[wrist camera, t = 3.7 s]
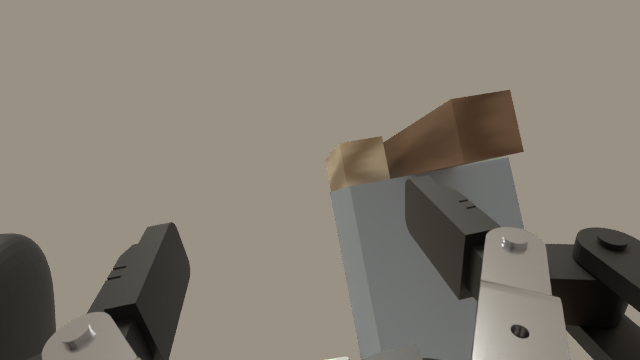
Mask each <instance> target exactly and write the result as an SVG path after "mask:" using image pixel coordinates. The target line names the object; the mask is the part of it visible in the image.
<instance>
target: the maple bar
mask: <svg viewBox="0 0 640 360" xmlns="http://www.w3.org/2000/svg"><path fill="white" fill-rule="evenodd" d="M325 162H326V167H327V173H328V178H329V183H330V189H331V192H332V191H336V190H339V189H343V188H346V187H349V186H355V185H360V184H366V183H371V182H377V181H382V180H387V179H390V175H389V170H388V165H387V160H386V155H385V150H384V145H383V140H382V136H380V137H374V138H368V139H363V140H357V141H351V142H345V143H339V144H338V145H337V147H336V148H335V149H334V150H333V151H332V152H331V154H330V155H329V156H328V157H327V158H326V160H325Z"/></svg>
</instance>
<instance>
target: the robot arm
mask: <svg viewBox="0 0 640 360" xmlns="http://www.w3.org/2000/svg"><path fill="white" fill-rule="evenodd" d="M405 221H406V226H407V229H408V231H409V233H410V234H411V236H412V237H413V239H414V240H415V241H416V243H417V244H418V245H419V247H420V248H421V249H422V251H423V252H424V253H425V255H426V256H427V258H428V259H429V260H430V262H431V263H432V264H433V266H434V267H435V268H436V270H437V271H438V272H439V274H440V275H441V277H442V278H443V279H444V281H445V282H446V283H447V285H448V286H449V287H450V289H451V290H452V291H453V293H454V294H455V296H456V297H457V298H458V300H462V299H466V298H470V297H474V298H475V300H476V301H477V306H476V314H475V322H474V330H473V339H472V347H471V355H470V360H570V353H569V347H568V341H567V334H566V330H567V332H568V333H569V334H570V335H571V336H572V337H573V338H574V339H575V340H576V341H577V342H578V343H579V344H580V346H582V348H583V349H584V350H585V351H586V352H587V353H588V354H589V355H590V356H591V357H592V358H593V359H594V360H640V327H639V326H637V325H636V324H635V323H634V322H633V321H632V320H630V319H629V318H628V317H627V316H626V315H625V311H626V309H627V306H628V304H630V305H631V306H633V307H634V308H635V309H636V310H638V311H639V312H640V241H639V240H637V239H636V238H634V237H632V236H629V235H627V234H625V233H622V232H619V231H616V230H611V229H606V228H587V229H583V230H581V231H580V232H578V234H577V237H576V240H575V244H574V245H568V244H544V242H543V241H542V240H541V239H540V238H539V237H538V236H536V235H534V234H533V233H531V232H528V231H526V230H522V229H518V228H512V227H501V226H500V225H499V224H497V223H496V222H495V221H494V220H493V219H491V218H490V217H489V216H488V215H487V214H485V213H484V212H483V211H482V210H481V209H479V208H478V207H477V208H476V205H474V204H473V203H472V202H471V201H468V199H467V198H466V197H465V196H464V195H462V194H461V193H460V192H459V191H456V190H454V189H451V188H449V187H446V186H443V187H441V186H440V185H439V184H438V183H437V182H436V181H435V180H433V179H432V178H431V177H430V176H422V177H416V178H411V179H407V180H406V183H405ZM189 278H190V265H189V260H188V257H187V255H186V252H185V249H184V247H183V244H182V241H181V238H180V236H179V233H178V230H177V228H176V226H175V224H174V223H172V222H171V223H166V224H160V225H155V226H150V227H147V229H146V230H145V232H144V234H143V236H142V238H141V240H140V242H139V243H138V244H135V245H132V246H131V247H130V248H129V249H128V250H127V251H125V253H123V254H122V255H121V256H120V257H119V259H118V261H117V263H116V264H115V266H114V268H113V271H111V273H110V275H109V276H108V278H107V279H108V280H107V281H105V283H104V285H103V287H102V289H101V290H100V292H99V293H98V295H97V297H96V299H95V300H94V302H93V304H92V305H91V307H90V309H89V311H88V312H87V314H85V315H82V316H80V317H78V318H76V319H74V320H72V321H70V322H68V323H67V324H65V325H64V326H63V327H61V328H60V329H59V330H58V331H56V323H55V305H54V292H53V283H52V278H51V272H50V268H49V265H48V263H47V260H46V257H45V255H44V253H43V252H42V250H41V249H40V247H39V246H38V245H37V244H36V243H35V242H34V241H33V240H31V239H30V238H28V237H26V236H23V235H19V234H0V360H169V356H170V352H171V348H172V344H173V341H174V336H175V333H176V329H177V325H178V321H179V317H180V313H181V310H182V306H183V301H184V298H185V294H186V290H187V286H188V282H189ZM362 360H439V359H432V358H422V357H421V355H420V353H419V351H418V349H417V347H416V345H415V344H411V345H407V346H403V347H399V348H394V349H390V350H386V351H382V352H378V353H374V354H372V355H370V356H368V357H366V358H364V359H362Z"/></svg>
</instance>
